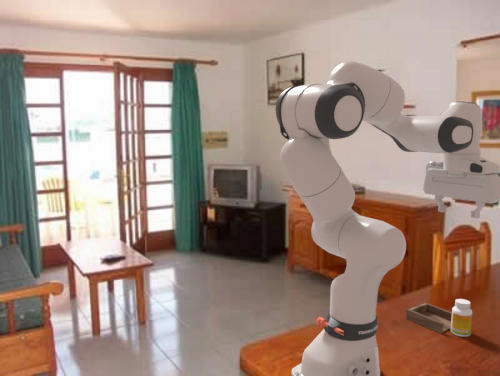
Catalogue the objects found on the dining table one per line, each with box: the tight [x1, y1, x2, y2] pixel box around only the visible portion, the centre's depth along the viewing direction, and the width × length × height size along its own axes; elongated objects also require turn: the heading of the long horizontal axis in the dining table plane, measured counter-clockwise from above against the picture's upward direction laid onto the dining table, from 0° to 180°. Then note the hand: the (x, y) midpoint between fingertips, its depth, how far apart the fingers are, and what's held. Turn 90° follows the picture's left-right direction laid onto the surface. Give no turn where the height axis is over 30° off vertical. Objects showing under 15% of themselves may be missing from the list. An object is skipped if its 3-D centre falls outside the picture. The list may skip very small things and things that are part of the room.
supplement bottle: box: [450, 298, 473, 338], centre depth 131 cm, size 5×5×10 cm
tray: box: [405, 302, 452, 334], centre depth 139 cm, size 10×12×3 cm
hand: (458, 214), depth 122 cm, fingers open, 8 cm apart
